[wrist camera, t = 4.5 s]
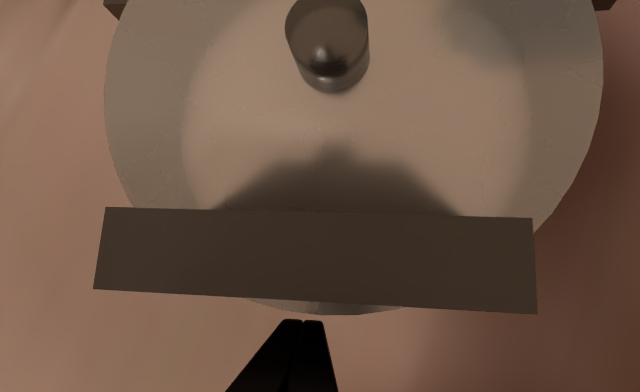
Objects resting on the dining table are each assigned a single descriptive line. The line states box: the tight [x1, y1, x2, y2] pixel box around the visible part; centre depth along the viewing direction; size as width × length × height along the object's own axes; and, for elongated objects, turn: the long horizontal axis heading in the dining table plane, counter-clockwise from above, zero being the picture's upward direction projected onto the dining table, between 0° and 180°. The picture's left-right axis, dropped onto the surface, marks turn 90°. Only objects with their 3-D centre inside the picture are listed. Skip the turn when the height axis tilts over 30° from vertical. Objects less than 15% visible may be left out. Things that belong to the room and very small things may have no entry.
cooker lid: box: [93, 0, 603, 315], centre depth 11 cm, size 14×14×4 cm
